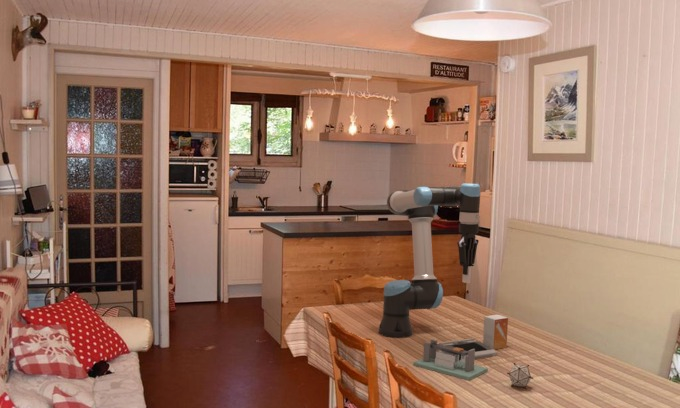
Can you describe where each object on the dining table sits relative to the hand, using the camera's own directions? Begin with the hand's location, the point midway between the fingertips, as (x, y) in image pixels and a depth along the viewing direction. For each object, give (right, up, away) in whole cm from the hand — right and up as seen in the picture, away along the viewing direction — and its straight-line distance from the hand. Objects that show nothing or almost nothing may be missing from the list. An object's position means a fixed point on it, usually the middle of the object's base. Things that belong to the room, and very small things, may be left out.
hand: (466, 282), depth 262 cm
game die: (+13, -33, -29) cm, 46 cm away
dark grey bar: (-9, -25, -11) cm, 28 cm away
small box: (+16, -30, +19) cm, 38 cm away
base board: (-8, -31, -11) cm, 34 cm away
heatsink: (-8, -31, -11) cm, 34 cm away
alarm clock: (+3, -31, +10) cm, 32 cm away
